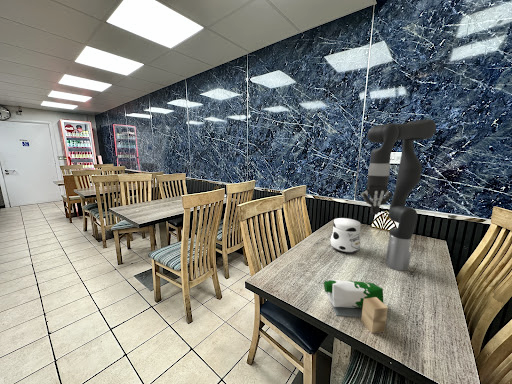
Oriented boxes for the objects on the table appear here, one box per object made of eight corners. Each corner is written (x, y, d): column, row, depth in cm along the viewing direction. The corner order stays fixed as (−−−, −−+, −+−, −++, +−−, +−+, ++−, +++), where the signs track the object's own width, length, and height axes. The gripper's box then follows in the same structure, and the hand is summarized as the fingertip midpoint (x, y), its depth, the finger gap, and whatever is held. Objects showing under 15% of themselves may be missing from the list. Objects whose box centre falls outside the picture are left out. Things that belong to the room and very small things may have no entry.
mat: (362, 291, 86) (362, 290, 86) (381, 318, 72) (382, 317, 71) (325, 288, 87) (325, 288, 87) (336, 315, 73) (336, 314, 73)
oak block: (373, 319, 71) (376, 297, 70) (384, 331, 66) (388, 307, 65) (360, 321, 70) (363, 298, 69) (371, 333, 66) (374, 309, 64)
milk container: (361, 257, 116) (365, 228, 113) (330, 252, 121) (332, 224, 118) (357, 245, 132) (360, 219, 129) (329, 241, 137) (331, 216, 134)
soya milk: (384, 286, 73) (328, 283, 74) (385, 313, 71) (328, 309, 73) (372, 280, 81) (322, 277, 83) (373, 303, 80) (322, 300, 82)
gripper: (389, 173, 86) (384, 211, 90) (358, 173, 87) (355, 211, 90) (400, 175, 79) (395, 216, 82) (366, 175, 80) (363, 216, 83)
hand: (374, 214), depth 86 cm, fingers closed
